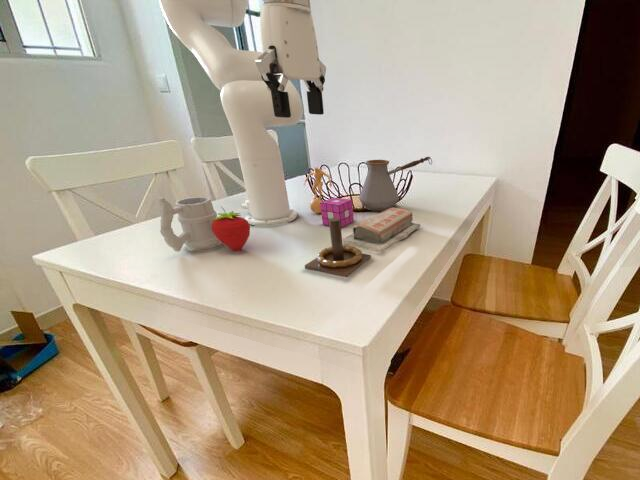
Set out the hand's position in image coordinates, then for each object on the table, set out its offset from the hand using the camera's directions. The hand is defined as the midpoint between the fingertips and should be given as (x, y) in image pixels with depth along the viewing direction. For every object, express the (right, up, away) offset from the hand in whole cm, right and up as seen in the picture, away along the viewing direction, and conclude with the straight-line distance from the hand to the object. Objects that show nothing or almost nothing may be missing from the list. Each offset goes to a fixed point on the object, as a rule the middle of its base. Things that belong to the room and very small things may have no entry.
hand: (300, 115), depth 65 cm
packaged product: (+15, -21, +15) cm, 30 cm away
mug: (-24, -25, +8) cm, 36 cm away
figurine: (-5, -12, +31) cm, 34 cm away
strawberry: (-15, -26, +7) cm, 30 cm away
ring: (+7, -27, +1) cm, 28 cm away
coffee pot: (+16, -11, +34) cm, 39 cm away
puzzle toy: (+2, -17, +23) cm, 29 cm away
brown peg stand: (+7, -28, +1) cm, 29 cm away
